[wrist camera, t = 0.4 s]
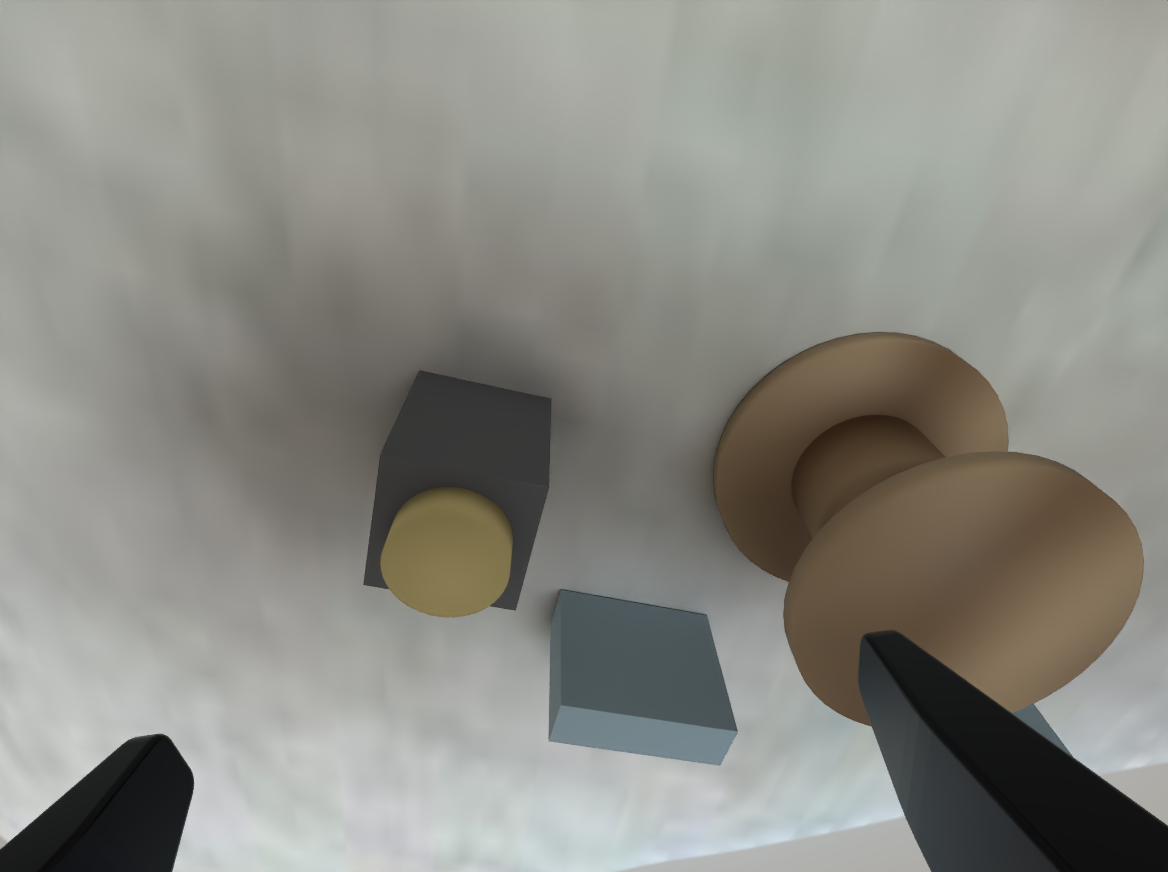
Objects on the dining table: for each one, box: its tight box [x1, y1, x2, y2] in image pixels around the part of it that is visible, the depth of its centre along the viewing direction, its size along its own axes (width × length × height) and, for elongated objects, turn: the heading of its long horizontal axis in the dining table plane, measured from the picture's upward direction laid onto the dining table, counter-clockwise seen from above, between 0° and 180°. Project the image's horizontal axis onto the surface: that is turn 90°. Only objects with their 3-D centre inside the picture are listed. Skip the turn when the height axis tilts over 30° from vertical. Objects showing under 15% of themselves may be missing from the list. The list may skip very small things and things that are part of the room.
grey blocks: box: [549, 590, 1073, 765], centre depth 24 cm, size 18×2×5 cm, turn 76°
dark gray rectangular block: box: [363, 371, 551, 617], centre depth 19 cm, size 4×4×6 cm
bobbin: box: [714, 332, 1144, 726], centre depth 19 cm, size 9×9×7 cm
